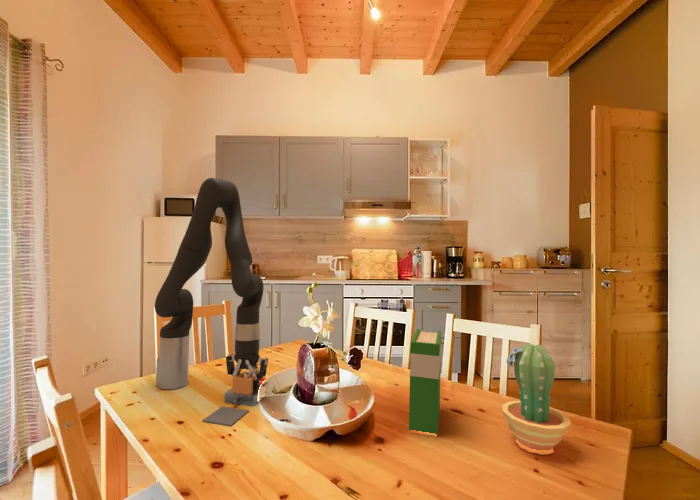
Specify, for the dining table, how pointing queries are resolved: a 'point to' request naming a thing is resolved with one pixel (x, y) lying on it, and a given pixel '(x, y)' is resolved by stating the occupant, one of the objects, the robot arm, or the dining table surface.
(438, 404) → the hardback book
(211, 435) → the dining table surface
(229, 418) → the pad
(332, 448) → the dining table surface
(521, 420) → the potted cactus
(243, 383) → the link
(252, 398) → the vise block
